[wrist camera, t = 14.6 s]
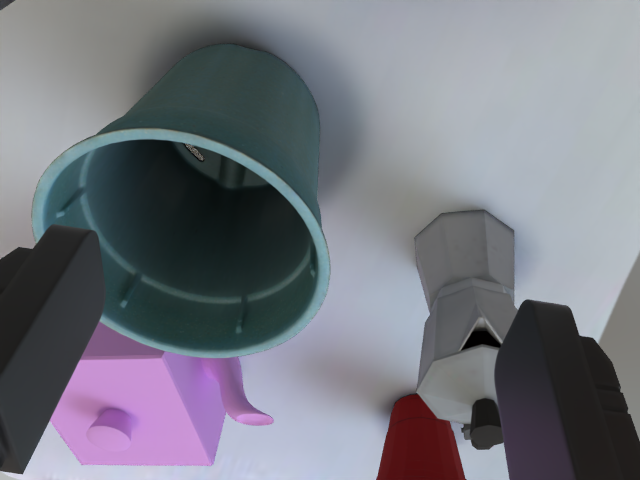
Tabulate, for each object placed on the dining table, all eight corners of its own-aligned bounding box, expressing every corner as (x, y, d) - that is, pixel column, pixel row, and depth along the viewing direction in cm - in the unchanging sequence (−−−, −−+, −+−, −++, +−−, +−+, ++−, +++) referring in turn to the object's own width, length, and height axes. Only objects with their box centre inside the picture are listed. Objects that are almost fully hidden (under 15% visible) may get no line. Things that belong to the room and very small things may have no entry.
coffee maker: (405, 193, 49) (410, 375, 35) (520, 183, 47) (573, 369, 33) (418, 321, 58) (426, 506, 44) (514, 317, 56) (554, 506, 42)
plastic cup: (351, 390, 65) (345, 497, 56) (450, 369, 62) (459, 480, 53) (388, 444, 71) (388, 550, 62) (480, 429, 68) (494, 538, 58)
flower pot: (150, 202, 52) (74, 350, 39) (106, 5, 41) (-16, 122, 29) (344, 213, 50) (329, 368, 38) (350, 13, 40) (331, 138, 28)
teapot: (304, 362, 63) (286, 491, 52) (81, 367, 67) (22, 488, 56) (277, 251, 54) (249, 380, 43) (19, 264, 58) (-66, 385, 47)
